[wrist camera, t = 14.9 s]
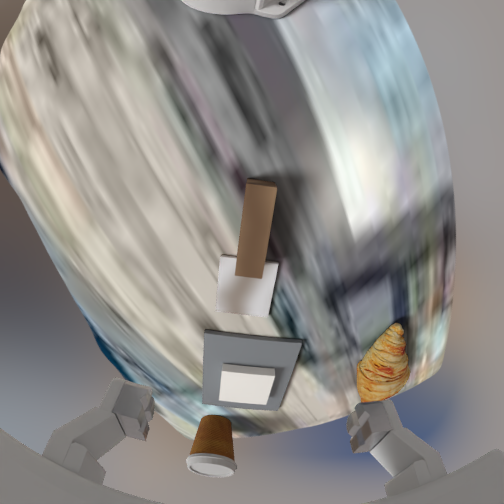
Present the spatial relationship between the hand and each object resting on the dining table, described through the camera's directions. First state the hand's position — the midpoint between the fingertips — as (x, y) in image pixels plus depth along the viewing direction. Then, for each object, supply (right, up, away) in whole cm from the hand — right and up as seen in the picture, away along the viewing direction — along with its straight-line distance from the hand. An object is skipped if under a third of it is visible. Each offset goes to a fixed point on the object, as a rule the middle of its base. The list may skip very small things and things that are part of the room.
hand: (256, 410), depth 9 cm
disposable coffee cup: (-8, -29, +39) cm, 49 cm away
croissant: (+22, -14, +32) cm, 41 cm away
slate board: (-1, -14, +32) cm, 35 cm away
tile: (-1, -12, +29) cm, 31 cm away
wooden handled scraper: (0, +6, +24) cm, 24 cm away
